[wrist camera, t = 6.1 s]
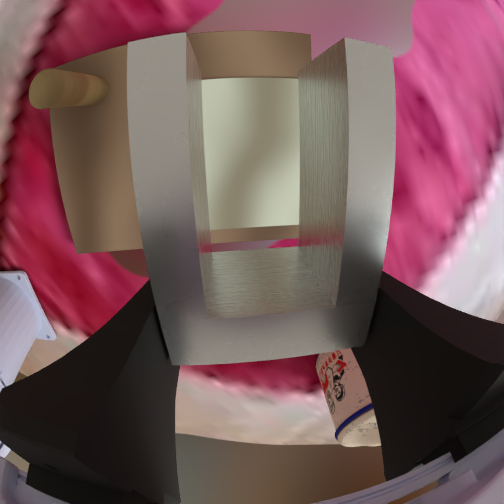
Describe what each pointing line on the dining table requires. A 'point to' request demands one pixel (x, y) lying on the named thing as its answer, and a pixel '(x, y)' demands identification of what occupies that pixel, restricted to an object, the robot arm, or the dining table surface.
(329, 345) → the c link
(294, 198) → the board
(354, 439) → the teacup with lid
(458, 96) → the dining table surface
